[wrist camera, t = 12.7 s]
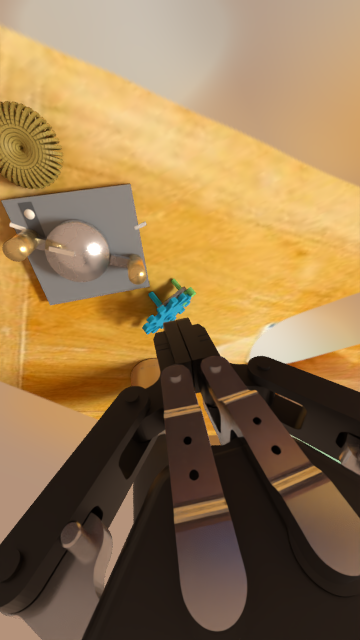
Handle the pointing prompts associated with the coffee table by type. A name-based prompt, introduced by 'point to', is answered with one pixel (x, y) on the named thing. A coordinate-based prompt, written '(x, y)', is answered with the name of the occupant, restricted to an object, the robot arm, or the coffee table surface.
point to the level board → (95, 208)
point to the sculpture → (27, 147)
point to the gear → (168, 307)
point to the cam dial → (74, 252)
